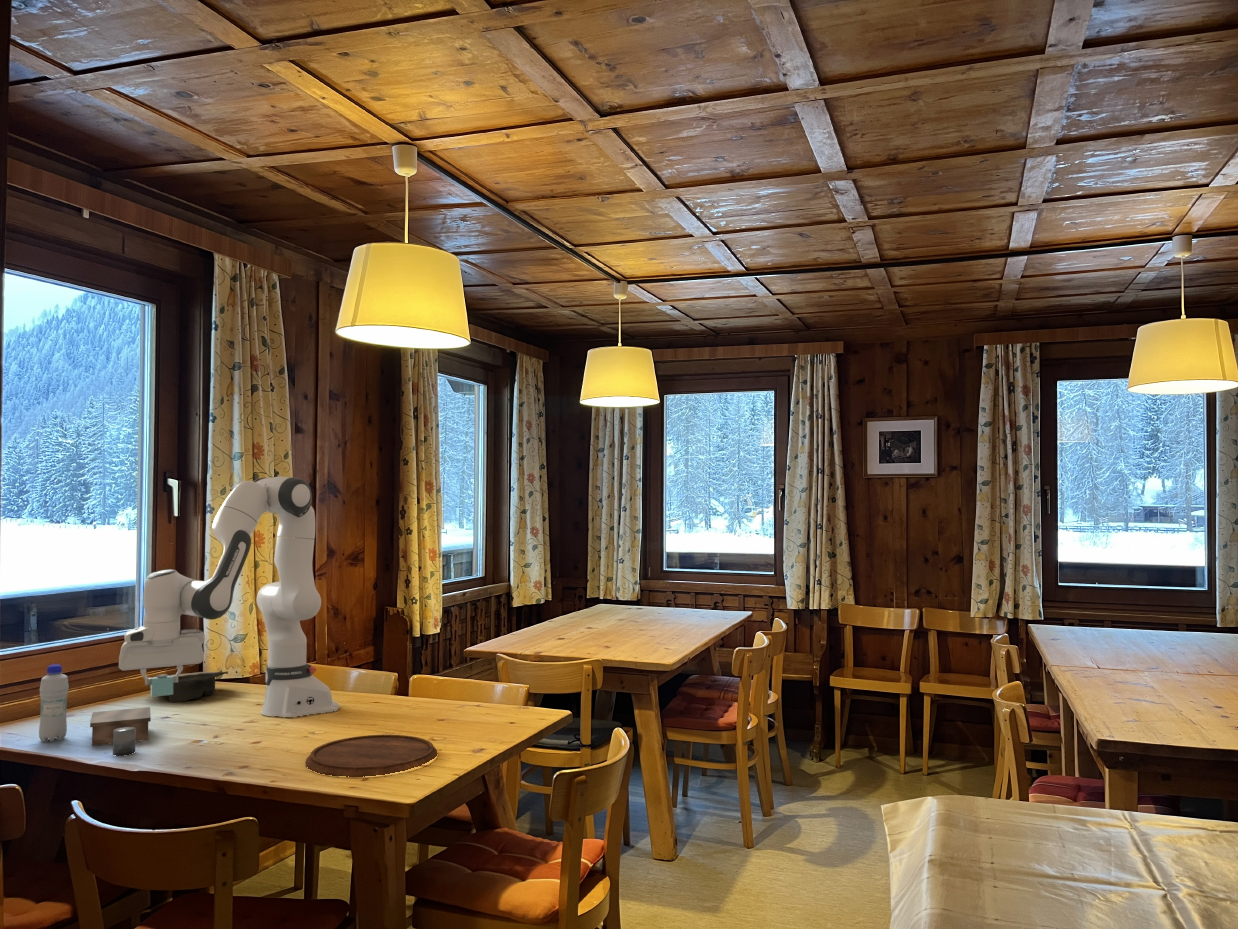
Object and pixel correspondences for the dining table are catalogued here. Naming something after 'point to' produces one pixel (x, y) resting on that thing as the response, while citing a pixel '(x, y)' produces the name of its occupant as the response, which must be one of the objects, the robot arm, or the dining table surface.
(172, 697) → the stone bowl
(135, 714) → the stand
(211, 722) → the dining table surface
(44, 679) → the bottle
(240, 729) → the dining table surface
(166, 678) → the block
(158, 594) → the robot arm
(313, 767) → the cutting board
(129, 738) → the tin
